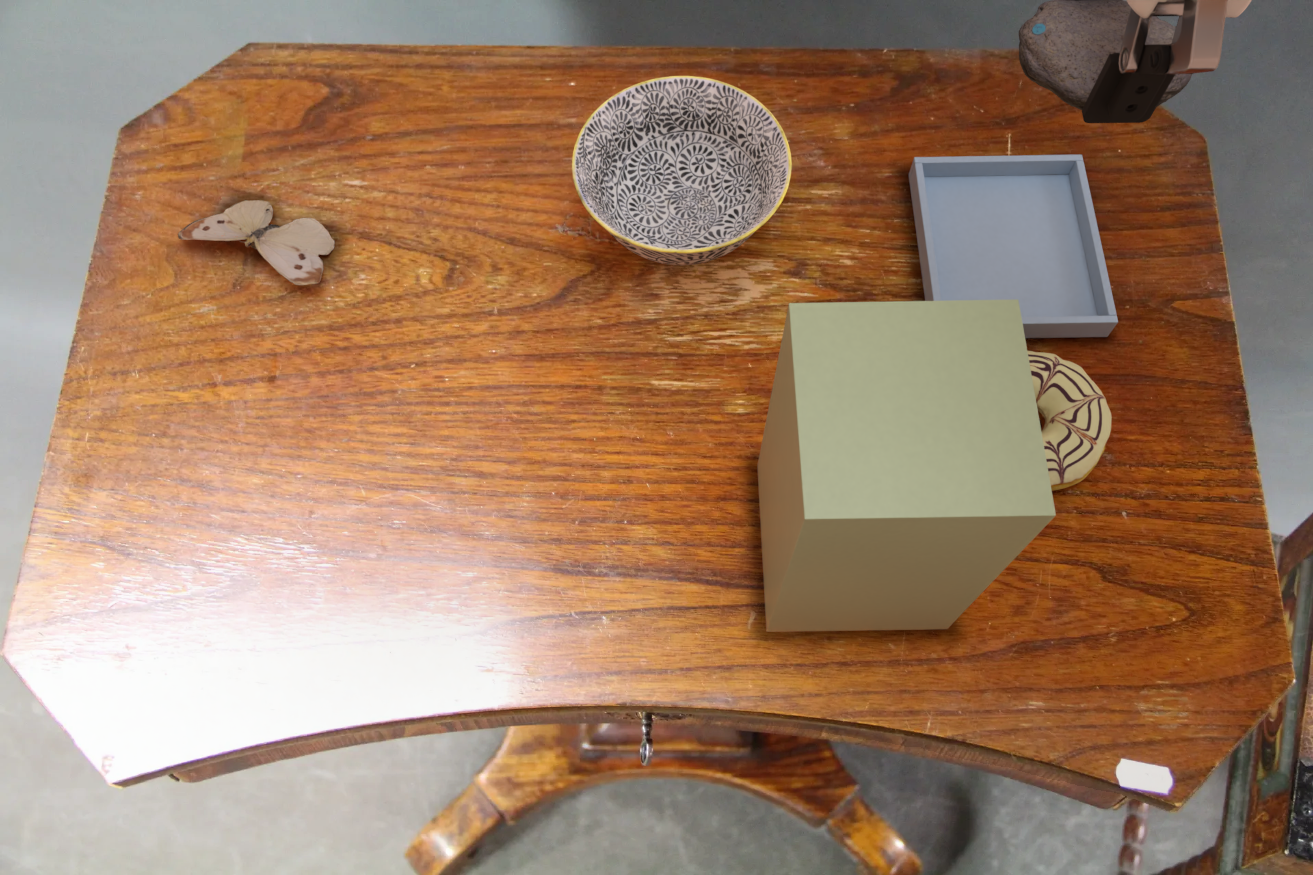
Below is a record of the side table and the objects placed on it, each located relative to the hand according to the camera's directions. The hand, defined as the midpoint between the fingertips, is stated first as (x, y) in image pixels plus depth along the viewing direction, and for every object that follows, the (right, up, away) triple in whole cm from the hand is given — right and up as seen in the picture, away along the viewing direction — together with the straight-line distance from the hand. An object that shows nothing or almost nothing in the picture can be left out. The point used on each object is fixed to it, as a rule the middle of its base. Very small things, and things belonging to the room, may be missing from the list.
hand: (1100, 57), depth 54 cm
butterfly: (-53, -4, +31) cm, 62 cm away
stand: (-9, -26, +20) cm, 34 cm away
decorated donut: (+4, -19, +24) cm, 30 cm away
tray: (+5, -5, +30) cm, 30 cm away
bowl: (-20, -2, +31) cm, 37 cm away
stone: (0, 0, +1) cm, 1 cm away
